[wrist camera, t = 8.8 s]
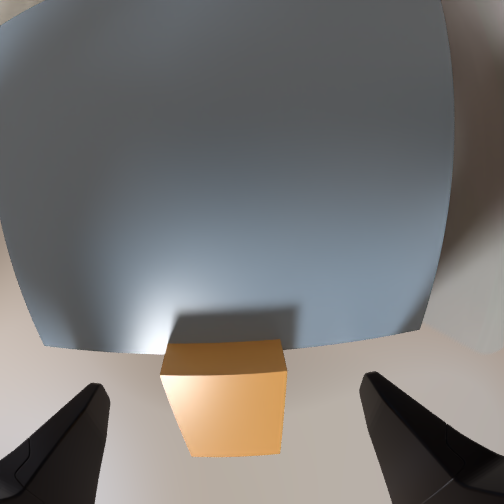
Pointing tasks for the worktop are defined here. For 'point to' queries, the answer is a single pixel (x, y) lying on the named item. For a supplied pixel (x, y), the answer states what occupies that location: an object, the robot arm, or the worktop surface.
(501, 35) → the worktop surface
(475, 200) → the worktop surface
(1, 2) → the worktop surface
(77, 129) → the lid
